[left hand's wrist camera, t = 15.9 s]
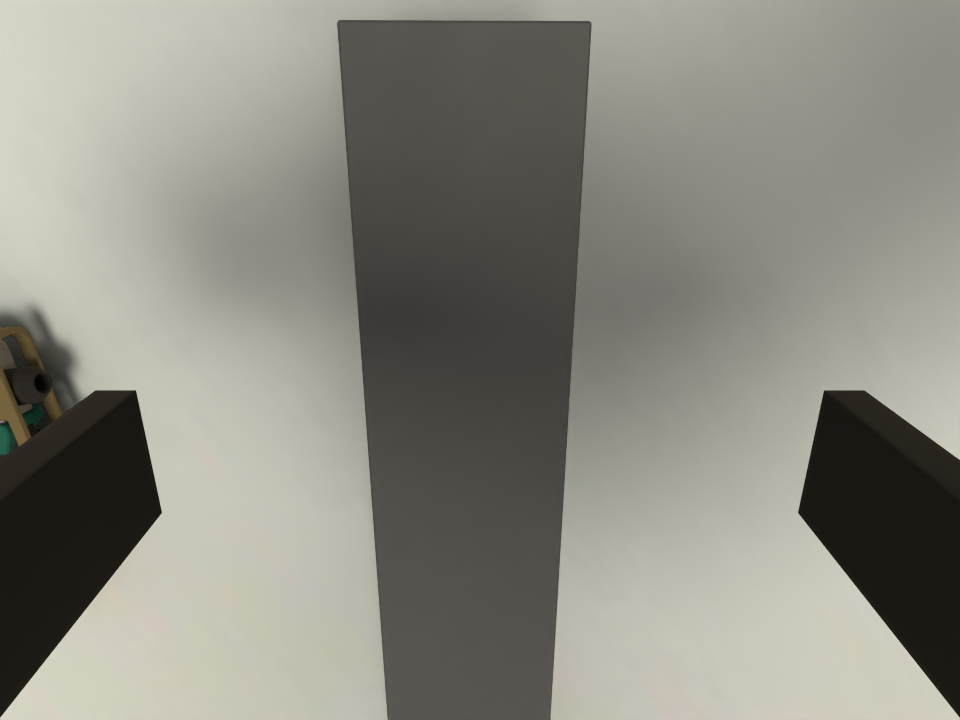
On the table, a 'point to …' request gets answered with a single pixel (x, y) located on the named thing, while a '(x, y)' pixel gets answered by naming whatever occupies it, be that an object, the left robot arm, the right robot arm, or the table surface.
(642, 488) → the table surface
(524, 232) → the beam
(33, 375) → the spray gun
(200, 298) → the table surface
